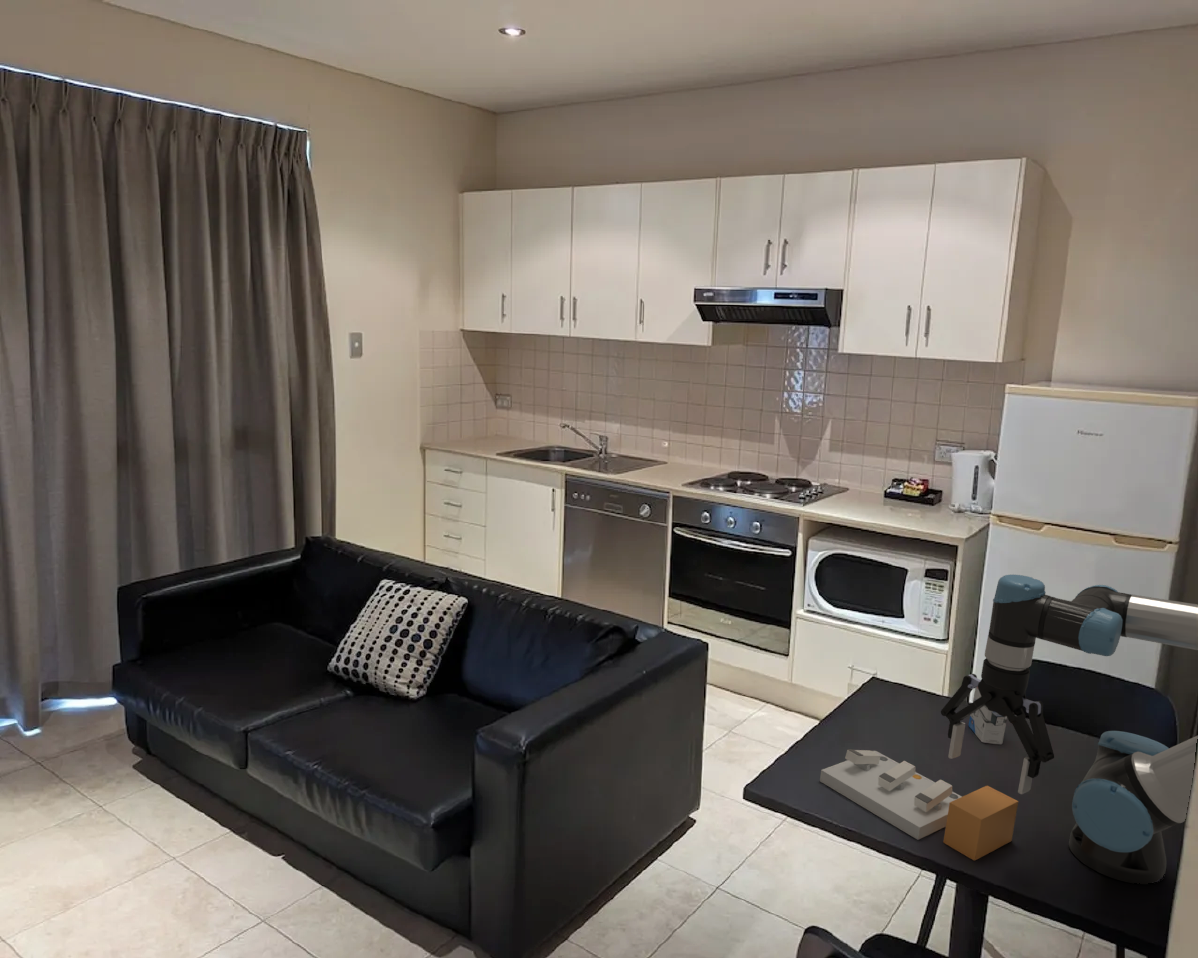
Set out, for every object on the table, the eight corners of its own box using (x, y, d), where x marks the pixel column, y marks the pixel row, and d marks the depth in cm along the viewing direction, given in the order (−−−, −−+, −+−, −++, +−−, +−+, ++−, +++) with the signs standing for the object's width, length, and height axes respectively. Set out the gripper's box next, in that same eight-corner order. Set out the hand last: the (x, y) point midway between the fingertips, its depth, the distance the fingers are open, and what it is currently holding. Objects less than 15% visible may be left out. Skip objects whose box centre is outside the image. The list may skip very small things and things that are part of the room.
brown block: (1011, 840, 164) (1018, 801, 163) (974, 860, 157) (981, 819, 156) (980, 823, 169) (987, 785, 168) (943, 842, 162) (949, 802, 161)
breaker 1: (878, 764, 183) (881, 755, 183) (855, 764, 179) (858, 754, 178) (867, 758, 186) (870, 749, 185) (844, 758, 181) (847, 749, 181)
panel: (971, 814, 172) (974, 797, 172) (917, 839, 162) (920, 821, 162) (873, 761, 190) (875, 745, 190) (819, 781, 181) (821, 764, 180)
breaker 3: (952, 793, 170) (952, 784, 170) (926, 812, 166) (926, 803, 166) (940, 787, 172) (940, 778, 172) (914, 805, 168) (914, 796, 168)
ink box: (967, 725, 211) (974, 679, 208) (988, 727, 211) (996, 680, 208) (982, 743, 202) (990, 695, 200) (1004, 744, 202) (1012, 696, 200)
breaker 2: (915, 774, 177) (915, 765, 176) (889, 791, 173) (889, 782, 172) (904, 768, 179) (904, 759, 178) (878, 784, 175) (878, 776, 174)
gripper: (1089, 686, 149) (1067, 801, 153) (955, 635, 169) (939, 738, 173) (1066, 694, 144) (1044, 813, 149) (932, 641, 164) (915, 747, 168)
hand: (987, 773), depth 161 cm, fingers open, 13 cm apart
